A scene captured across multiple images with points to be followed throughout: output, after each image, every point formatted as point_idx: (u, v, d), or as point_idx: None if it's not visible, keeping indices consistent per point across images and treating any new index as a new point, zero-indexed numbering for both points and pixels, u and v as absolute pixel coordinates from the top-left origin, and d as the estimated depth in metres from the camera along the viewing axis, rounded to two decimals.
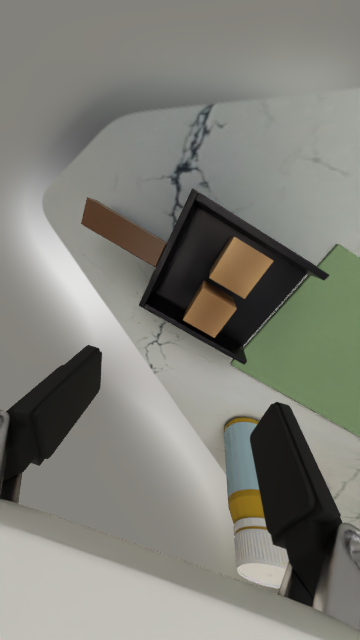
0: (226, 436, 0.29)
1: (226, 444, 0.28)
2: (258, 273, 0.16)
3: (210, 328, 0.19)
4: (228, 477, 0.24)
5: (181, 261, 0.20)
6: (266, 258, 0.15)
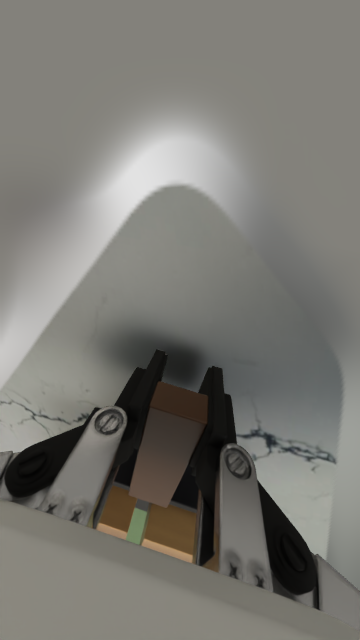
0: None
1: None
2: None
3: None
4: None
5: None
6: None
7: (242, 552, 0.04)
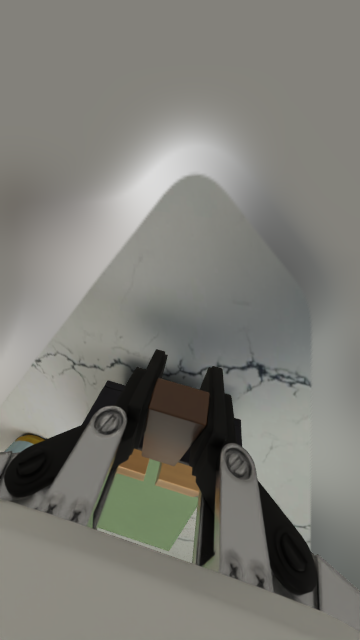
0: (17, 450, 0.26)
1: None
2: (179, 492, 0.17)
3: None
4: None
5: None
6: (193, 496, 0.17)
7: (242, 552, 0.04)
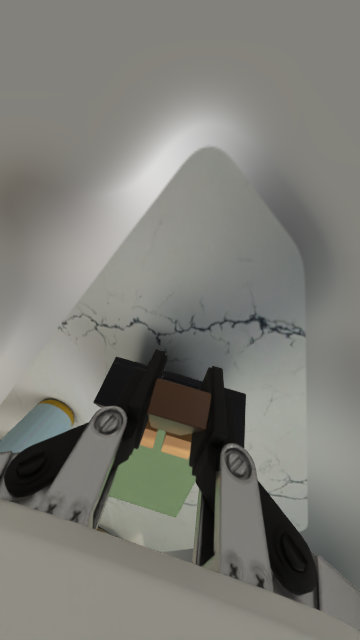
0: (41, 410, 0.29)
1: (34, 416, 0.28)
2: None
3: None
4: (5, 443, 0.24)
5: None
6: None
7: (242, 552, 0.04)
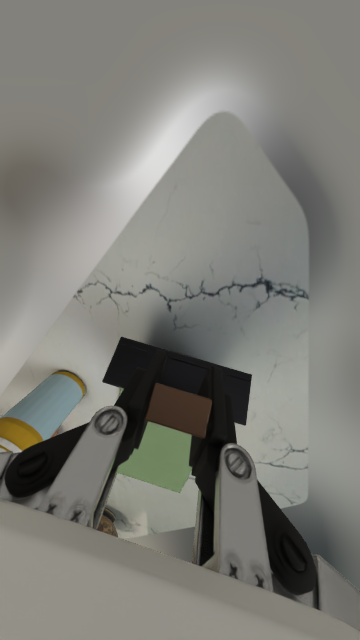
0: (54, 379, 0.30)
1: (48, 383, 0.29)
2: None
3: None
4: (23, 405, 0.26)
5: None
6: None
7: (242, 552, 0.04)
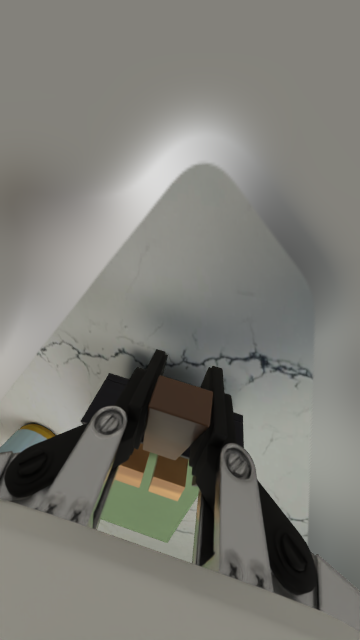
0: (21, 437, 0.27)
1: (12, 445, 0.26)
2: None
3: None
4: None
5: None
6: None
7: (242, 552, 0.04)
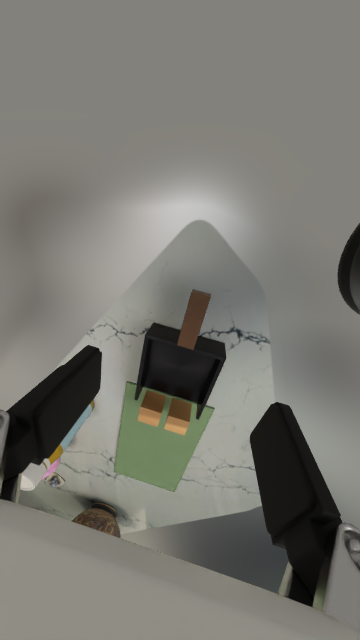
0: None
1: None
2: None
3: None
4: None
5: None
6: None
7: None
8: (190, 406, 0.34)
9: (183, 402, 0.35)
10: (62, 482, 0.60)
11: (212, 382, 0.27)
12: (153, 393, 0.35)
